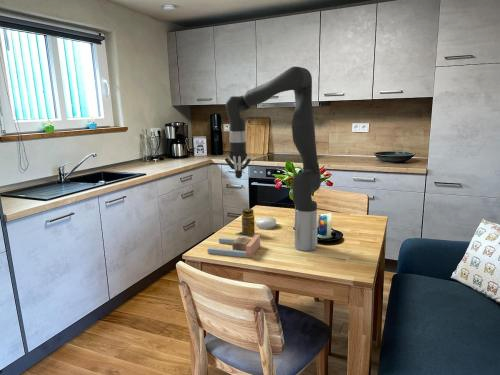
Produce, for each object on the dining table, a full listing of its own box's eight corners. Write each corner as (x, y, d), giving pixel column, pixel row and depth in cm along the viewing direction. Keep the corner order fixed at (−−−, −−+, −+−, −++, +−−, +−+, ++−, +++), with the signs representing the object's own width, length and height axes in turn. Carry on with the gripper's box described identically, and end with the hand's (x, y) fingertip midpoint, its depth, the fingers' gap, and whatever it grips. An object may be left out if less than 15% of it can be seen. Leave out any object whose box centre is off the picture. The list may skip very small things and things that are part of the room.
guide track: (260, 245, 164) (260, 234, 163) (250, 257, 151) (250, 246, 150) (220, 241, 170) (219, 231, 169) (207, 253, 157) (207, 242, 156)
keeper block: (251, 247, 163) (251, 238, 162) (245, 253, 157) (245, 244, 156) (238, 245, 165) (238, 237, 164) (232, 251, 159) (232, 242, 158)
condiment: (258, 234, 179) (257, 210, 176) (243, 238, 174) (242, 213, 172) (249, 230, 185) (249, 207, 182) (235, 233, 180) (234, 209, 178)
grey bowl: (277, 224, 194) (277, 217, 193) (273, 230, 185) (273, 223, 184) (259, 222, 197) (259, 216, 196) (254, 228, 188) (254, 222, 187)
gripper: (253, 140, 173) (254, 177, 177) (226, 140, 176) (228, 176, 180) (249, 142, 166) (250, 180, 170) (221, 141, 169) (222, 179, 173)
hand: (238, 178), depth 175 cm, fingers closed
